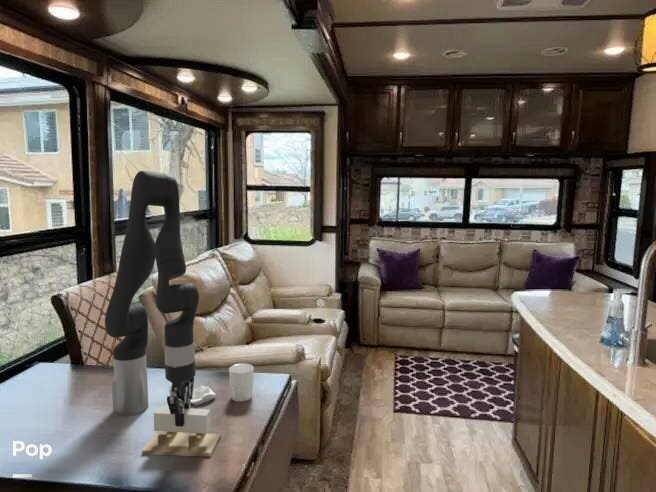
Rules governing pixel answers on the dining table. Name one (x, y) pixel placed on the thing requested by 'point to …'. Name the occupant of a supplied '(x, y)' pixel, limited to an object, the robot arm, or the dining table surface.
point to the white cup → (241, 382)
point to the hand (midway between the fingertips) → (182, 421)
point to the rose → (202, 395)
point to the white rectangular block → (192, 421)
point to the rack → (182, 444)
